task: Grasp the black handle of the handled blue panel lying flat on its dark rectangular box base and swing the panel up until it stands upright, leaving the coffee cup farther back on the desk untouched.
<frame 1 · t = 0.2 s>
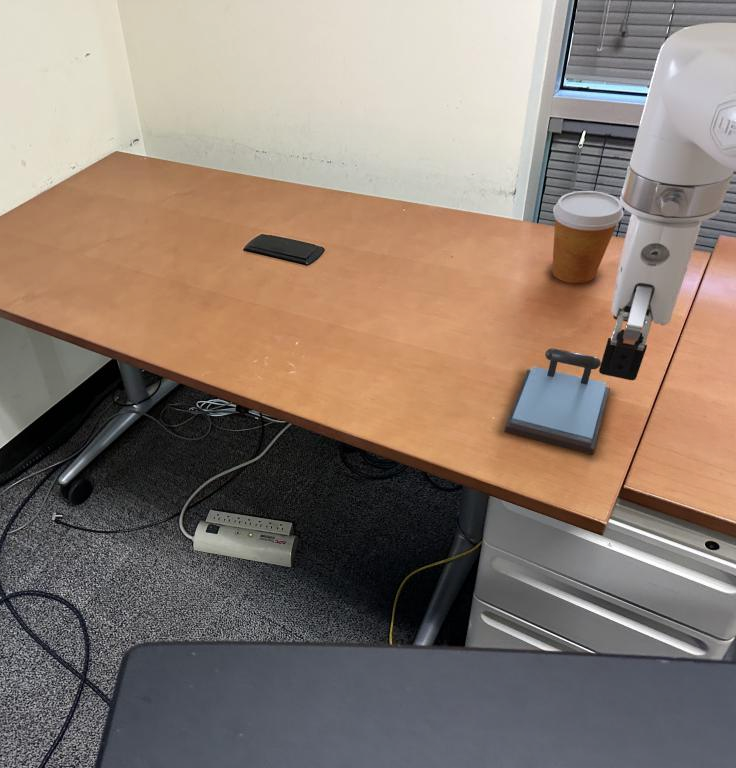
hand: (623, 346, 69), 17 cm above the table, tool pointing down, fingers open, 9 cm apart
handled blue panel: (563, 389, 85), point 3 cm above the table, hinge at 0.0°
dark rectangular box base: (557, 412, 87), on the table
disposable coffee cup: (573, 274, 110), on the table
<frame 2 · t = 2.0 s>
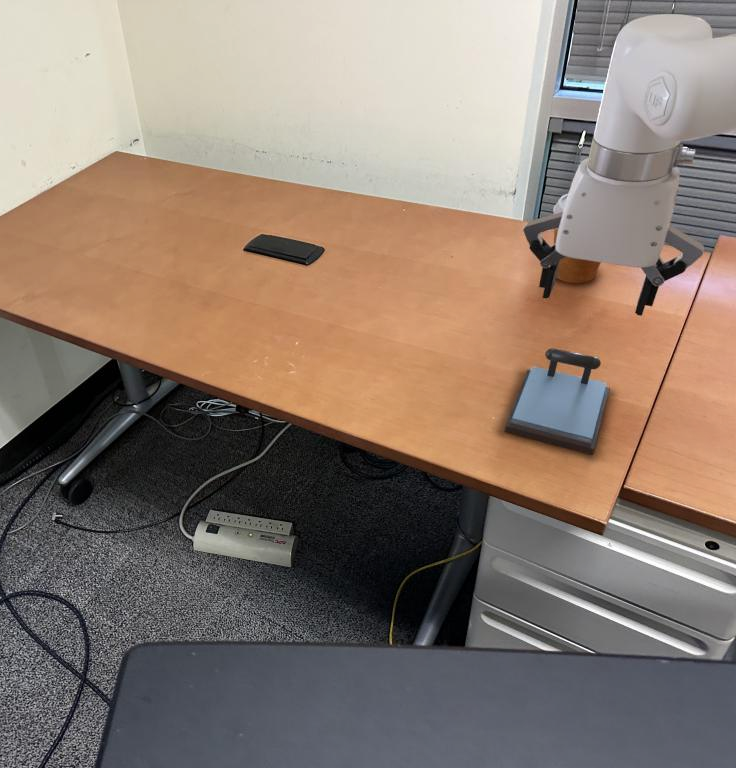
hand: (592, 300, 79), 15 cm above the table, tool pointing down, fingers open, 9 cm apart
nothing on the table moved.
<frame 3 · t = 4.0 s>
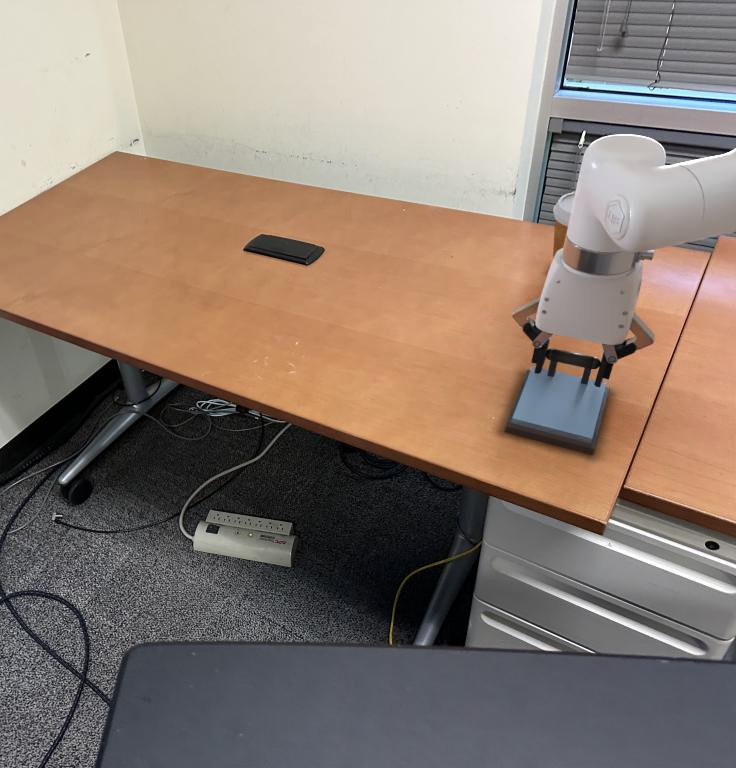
hand: (568, 372, 88), 3 cm above the table, tool pointing down, fingers closed on handled blue panel, 6 cm apart
handled blue panel: (563, 389, 85), point 3 cm above the table, hinge at 0.0°, touching gripper
everything else where it was.
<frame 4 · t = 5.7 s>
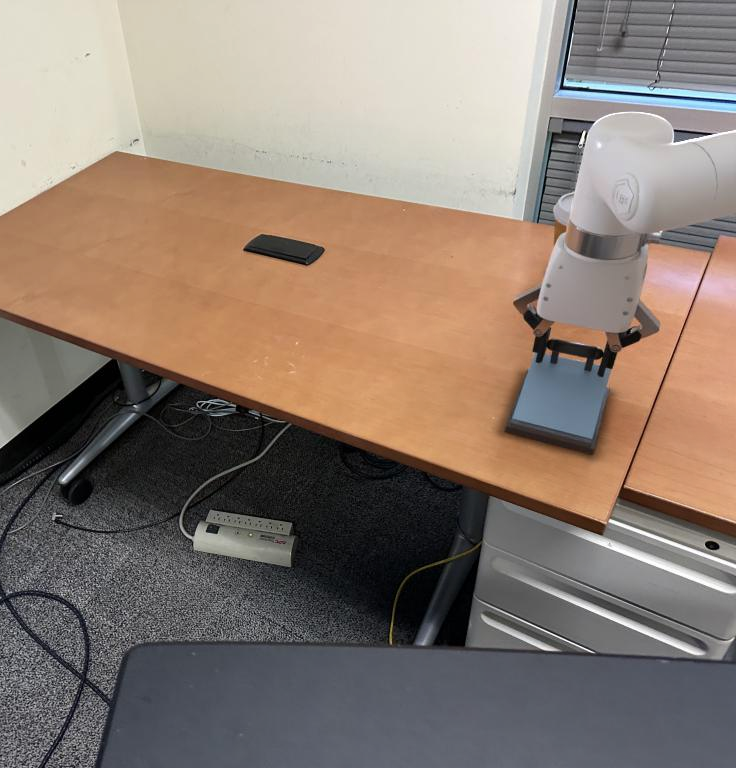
hand: (570, 362, 85), 6 cm above the table, tool pointing down, fingers closed on handled blue panel, 6 cm apart
handled blue panel: (564, 384, 84), point 5 cm above the table, hinge at 15.0°, touching gripper
everything else where it was.
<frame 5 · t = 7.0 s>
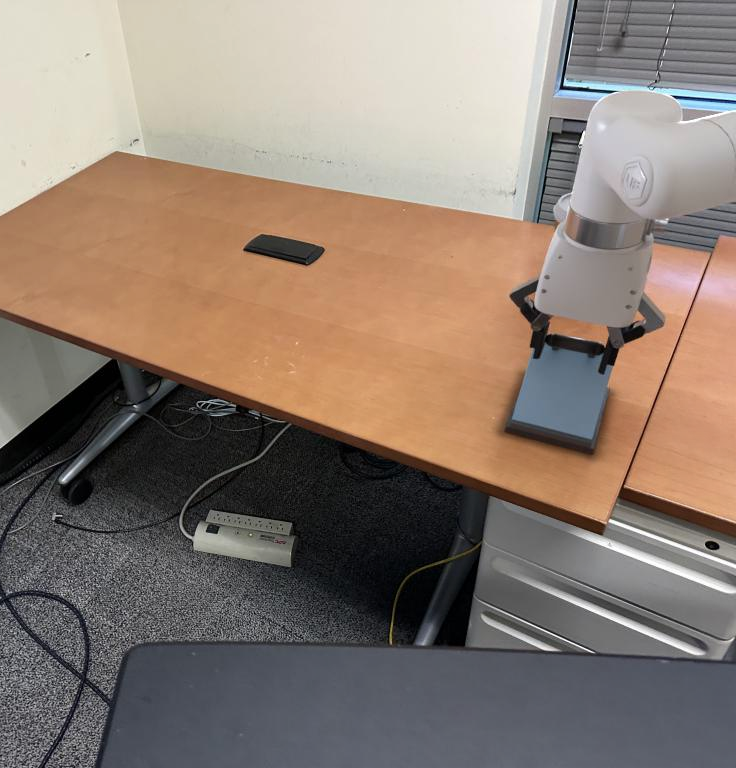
hand: (570, 358, 81), 9 cm above the table, tool pointing down, fingers closed on handled blue panel, 6 cm apart
handled blue panel: (563, 383, 81), point 7 cm above the table, hinge at 40.3°, touching gripper
everything else where it was.
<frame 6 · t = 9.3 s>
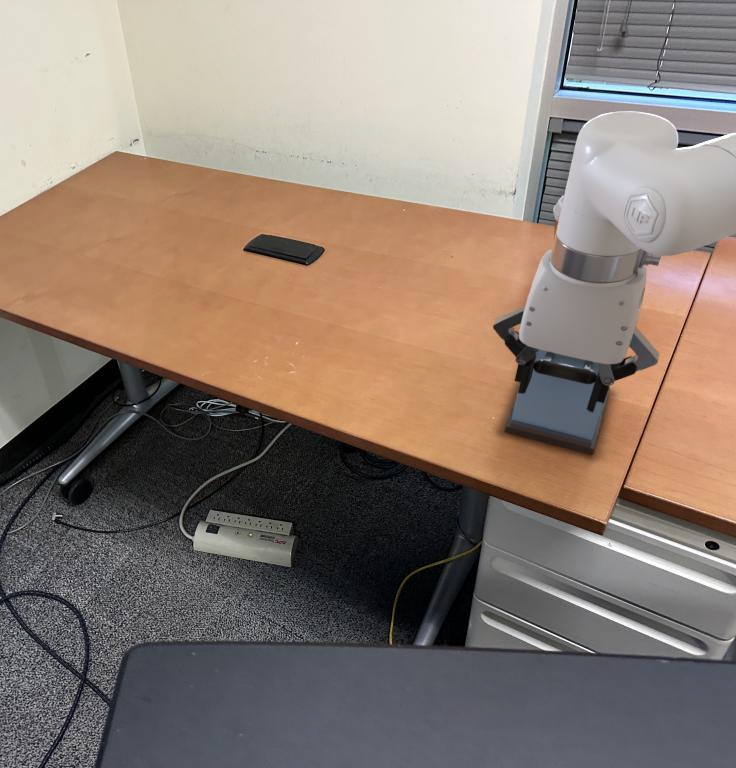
hand: (557, 393, 76), 10 cm above the table, tool pointing down, fingers closed on handled blue panel, 6 cm apart
handled blue panel: (557, 399, 78), point 7 cm above the table, hinge at 80.0°, touching gripper
everything else where it was.
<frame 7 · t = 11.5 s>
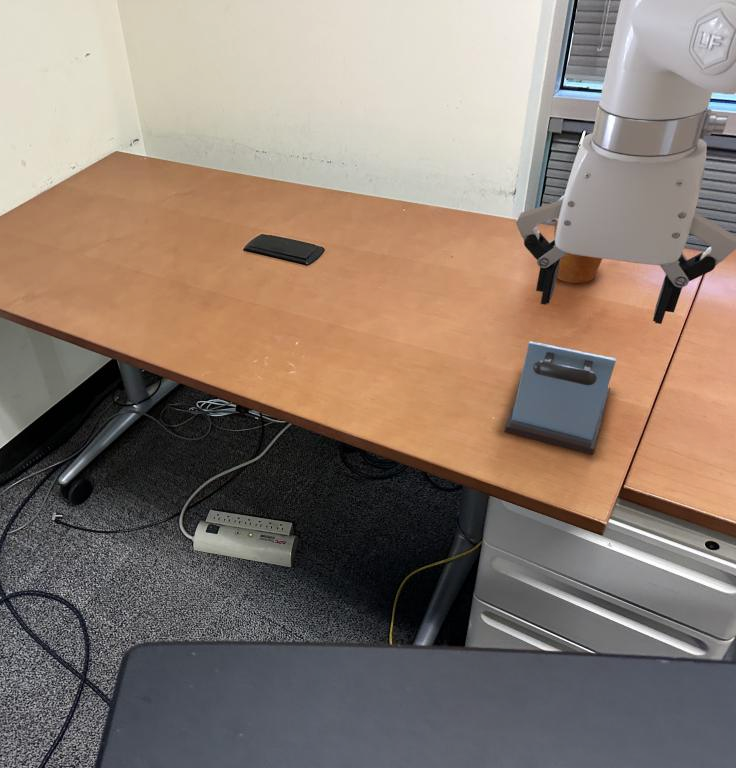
hand: (600, 306, 66), 23 cm above the table, tool pointing down, fingers open, 9 cm apart
handled blue panel: (557, 400, 78), point 7 cm above the table, hinge at 80.9°
everything else where it was.
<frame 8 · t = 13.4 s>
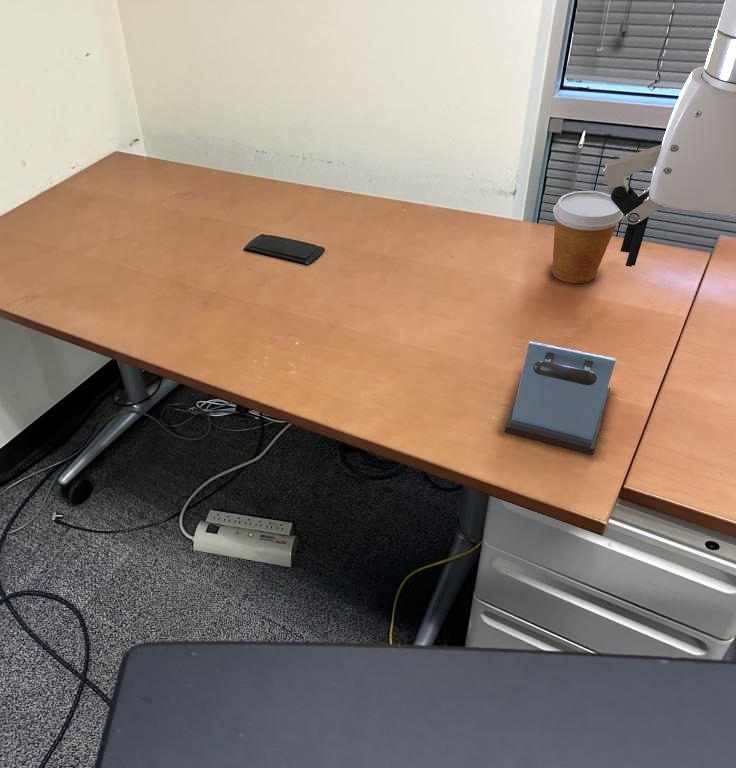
hand: (694, 268, 59), 28 cm above the table, tool pointing down, fingers open, 9 cm apart
nothing on the table moved.
at the end: handled blue panel at +81° (first picture: +0°); disposable coffee cup moved 0.2 cm from its start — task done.
